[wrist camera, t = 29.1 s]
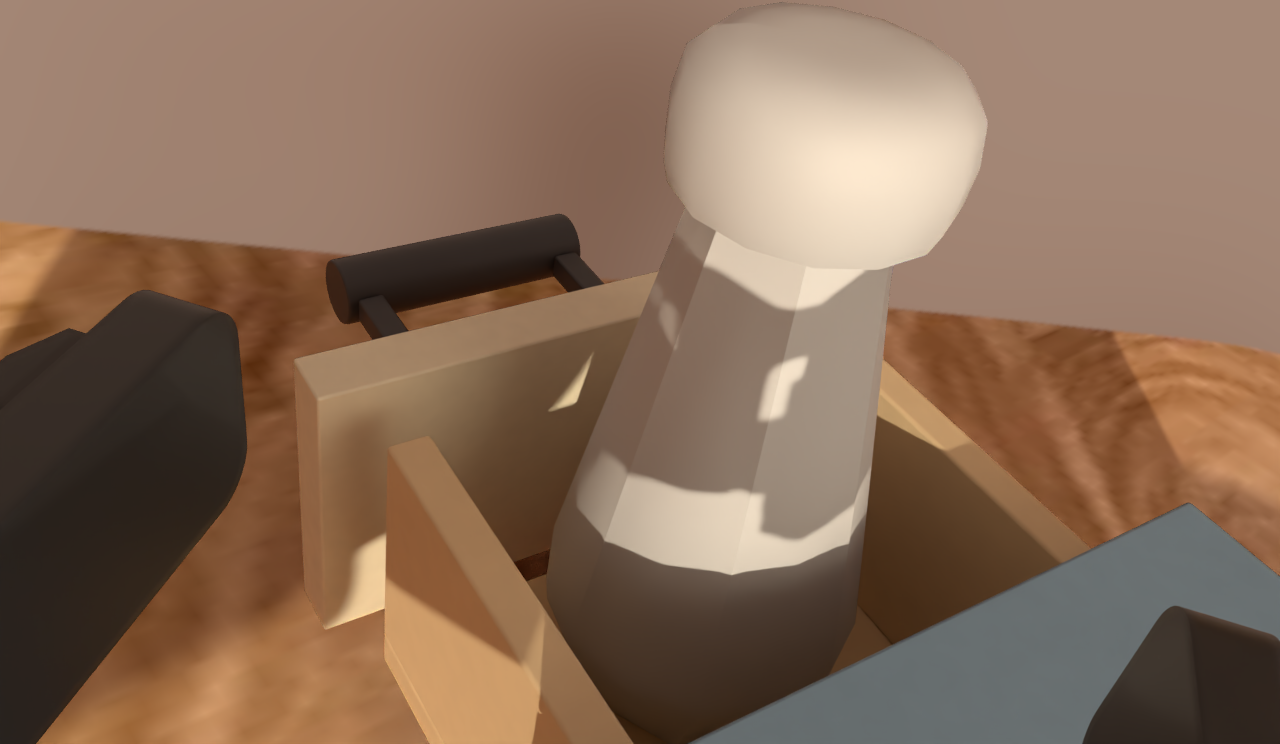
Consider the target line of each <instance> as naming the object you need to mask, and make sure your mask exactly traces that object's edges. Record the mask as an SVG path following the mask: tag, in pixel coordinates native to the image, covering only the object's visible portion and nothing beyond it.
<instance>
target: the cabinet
mask: <svg viewBox="0 0 1280 744" xmlns="http://www.w3.org/2000/svg"><path fill="white" fill-rule="evenodd" d="M1172 606H1180V607H1184V608H1187V609H1190V610H1193V611H1197V612H1200V613H1203V614H1207V615H1210V616H1213V617H1216V618H1220V619H1223V620H1226V621H1230V622H1233V623H1236V624H1240V625H1243V626H1246V627H1249V628H1253V629H1256V630H1259V631H1263V632H1266V633H1269V634H1272V635H1274V636H1275V637H1277V638H1278V639H1279V641H1280V576H1278V575H1277V574H1276V573H1275V572H1274V571H1272V570H1271V569H1270V568H1269V567H1268V566H1266V565H1265V564H1264V563H1263V562H1262V561H1260V560H1259V559H1258V558H1257V557H1255V556H1254V555H1253V554H1252V553H1251V552H1249V551H1248V550H1247V549H1246V548H1245V547H1243V546H1242V545H1241V544H1240V543H1239V542H1237V541H1236V540H1235V539H1234V538H1233V537H1231V536H1230V535H1229V534H1228V533H1226V532H1225V531H1224V530H1223V529H1222V528H1220V527H1219V526H1218V525H1217V524H1216V523H1214V522H1213V521H1212V520H1211V519H1210V518H1208V517H1207V516H1206V515H1205V514H1203V513H1202V512H1201V511H1200V510H1199V509H1197V508H1196V507H1195V506H1194V505H1193V504H1191V503H1186V504H1183V505H1181V506H1179V507H1177V508H1175V509H1173V510H1171V511H1169V512H1167V513H1165V514H1163V515H1161V516H1159V517H1156V518H1154V519H1152V520H1150V521H1148V522H1146V523H1144V524H1142V525H1140V526H1138V527H1136V528H1134V529H1132V530H1130V531H1127V532H1125V533H1123V534H1121V535H1119V536H1117V537H1115V538H1113V539H1111V540H1109V541H1107V542H1105V543H1103V544H1100V545H1098V546H1096V547H1094V548H1092V549H1090V550H1088V551H1086V552H1084V553H1082V554H1080V555H1078V556H1076V557H1074V558H1071V559H1069V560H1067V561H1065V562H1063V563H1061V564H1059V565H1057V566H1055V567H1053V568H1051V569H1049V570H1047V571H1044V572H1042V573H1040V574H1038V575H1036V576H1034V577H1032V578H1030V579H1028V580H1026V581H1024V582H1022V583H1020V584H1017V585H1015V586H1013V587H1011V588H1009V589H1007V590H1005V591H1003V592H1001V593H999V594H997V595H995V596H993V597H991V598H988V599H986V600H984V601H982V602H980V603H978V604H976V605H974V606H972V607H970V608H968V609H966V610H964V611H961V612H959V613H957V614H955V615H953V616H951V617H949V618H947V619H945V620H943V621H941V622H939V623H937V624H935V625H932V626H930V627H928V628H926V629H924V630H922V631H920V632H918V633H916V634H914V635H912V636H910V637H908V638H905V639H903V640H901V641H899V642H897V643H895V644H893V645H891V646H889V647H887V648H885V649H883V650H881V651H879V652H876V653H874V654H872V655H870V656H868V657H866V658H864V659H862V660H860V661H858V662H856V663H854V664H852V665H849V666H847V667H845V668H843V669H841V670H839V671H837V672H835V673H833V674H831V675H829V676H827V677H825V678H823V679H820V680H818V681H816V682H814V683H812V684H810V685H808V686H806V687H804V688H802V689H800V690H798V691H796V692H793V693H791V694H789V695H787V696H785V697H783V698H781V699H779V700H777V701H775V702H773V703H771V704H769V705H766V706H764V707H762V708H760V709H758V710H756V711H754V712H752V713H750V714H748V715H746V716H744V717H742V718H740V719H737V720H735V721H733V722H731V723H729V724H727V725H725V726H723V727H721V728H719V729H717V730H715V731H713V732H710V733H708V734H706V735H704V736H702V737H700V738H698V739H696V740H694V741H692V742H690V743H688V744H1082V743H1083V740H1084V737H1085V734H1086V731H1087V729H1088V726H1089V724H1090V722H1091V720H1092V718H1093V716H1094V714H1095V713H1096V711H1097V709H1098V708H1099V706H1100V705H1101V703H1102V702H1103V700H1104V699H1105V697H1106V696H1107V694H1108V693H1109V691H1110V690H1111V688H1112V687H1113V685H1114V684H1115V682H1116V681H1117V679H1118V678H1119V676H1120V675H1121V673H1122V672H1123V670H1124V669H1125V667H1126V666H1127V664H1128V663H1129V661H1130V660H1131V658H1132V657H1133V655H1134V654H1135V652H1136V651H1137V649H1138V648H1139V646H1140V645H1141V643H1142V642H1143V640H1144V639H1145V637H1146V636H1147V634H1148V633H1149V631H1150V630H1151V628H1152V627H1153V625H1154V624H1155V622H1156V621H1157V620H1158V618H1159V617H1160V616H1161V614H1162V613H1163V612H1164V611H1165V610H1167V609H1168V608H1170V607H1172Z"/></svg>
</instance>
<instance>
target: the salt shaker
mask: <svg viewBox="0 0 1280 744" xmlns="http://www.w3.org/2000/svg"><path fill="white" fill-rule="evenodd" d="M987 125H988V121H987V118H986V116H985V112H984V109H983V107H982V104H981V101H980V98H979V95H978V92H977V90H976V88H975V87H974V85H973V83H972V82H971V80H970V79H969V77H968V75H967V73H966V72H965V70H964V68H963V67H962V66H961V65H960V64H959V63H958V62H956V61H955V60H954V59H952V58H951V57H950V56H949V55H947V54H946V53H945V52H944V51H942V50H941V49H940V48H939V47H937V46H936V45H935V44H934V43H933V42H931V41H929V40H927V39H925V38H923V37H921V36H919V35H917V34H915V33H912V32H910V31H908V30H906V29H904V28H902V27H899V26H897V25H895V24H893V23H891V22H889V21H886V20H884V19H880V18H875V17H872V16H868V15H864V14H859V13H856V12H852V11H848V10H844V9H840V8H836V7H831V6H819V5H807V4H796V3H784V2H779V3H773V4H767V5H760V6H754V7H748V8H741V9H739V10H737V11H736V12H734V13H732V14H731V15H729V16H728V17H726V18H724V19H723V20H721V21H720V22H718V23H717V24H715V25H714V26H712V27H711V28H709V29H707V30H706V31H704V32H703V33H701V34H700V35H698V36H697V37H695V38H694V39H692V40H691V41H689V42H688V43H687V44H686V47H685V49H684V52H683V55H682V57H681V60H680V63H679V66H678V68H677V71H676V73H675V76H674V78H673V81H672V84H671V90H670V98H669V105H668V113H667V121H666V130H665V145H664V166H665V172H666V178H667V182H668V184H669V185H670V187H671V188H672V189H673V191H674V192H675V193H676V195H677V196H678V198H679V199H680V200H681V202H682V203H683V204H684V206H685V208H684V211H683V214H682V216H681V218H680V221H679V223H678V226H677V228H676V230H675V233H674V235H673V238H672V240H671V243H670V245H669V247H668V250H667V253H666V255H665V257H664V260H663V262H662V265H661V267H660V270H659V272H658V274H657V277H656V279H655V282H654V284H653V286H652V289H651V291H650V294H649V296H648V299H647V301H646V303H645V306H644V308H643V311H642V313H641V316H640V318H639V321H638V323H637V325H636V328H635V330H634V333H633V335H632V338H631V340H630V342H629V345H628V347H627V350H626V352H625V355H624V357H623V360H622V362H621V364H620V367H619V369H618V372H617V374H616V377H615V379H614V381H613V384H612V386H611V389H610V391H609V394H608V396H607V398H606V401H605V403H604V406H603V408H602V411H601V413H600V416H599V418H598V420H597V423H596V425H595V428H594V430H593V433H592V435H591V437H590V440H589V442H588V445H587V447H586V450H585V452H584V455H583V457H582V459H581V462H580V464H579V467H578V469H577V472H576V474H575V476H574V479H573V481H572V484H571V486H570V489H569V491H568V493H567V496H566V498H565V501H564V503H563V506H562V508H561V511H560V513H559V515H558V518H557V520H556V523H555V525H554V531H553V537H552V544H551V550H550V557H549V564H548V570H547V577H546V585H547V599H548V602H549V604H550V606H551V609H552V611H553V613H554V616H555V618H556V620H557V623H558V625H559V628H560V630H561V632H562V635H563V637H564V639H565V641H566V643H567V644H568V646H569V647H570V649H571V650H572V652H573V653H574V655H575V656H576V658H577V659H578V661H579V662H580V664H581V665H582V667H583V668H584V670H585V671H586V673H587V674H588V676H589V677H590V679H591V680H592V682H593V683H594V685H595V686H596V688H597V689H598V691H599V692H600V694H601V695H602V697H603V698H604V700H605V701H606V703H607V704H608V706H609V707H610V709H611V710H612V712H614V713H616V714H617V715H619V716H621V717H623V718H624V719H626V720H628V721H630V722H631V723H633V724H635V725H636V726H638V727H640V728H642V729H643V730H645V731H647V732H649V733H650V734H652V735H654V736H656V737H657V738H659V739H661V740H663V741H664V742H666V743H668V744H688V743H690V742H692V741H694V740H696V739H698V738H700V737H702V736H704V735H706V734H708V733H710V732H713V731H715V730H717V729H719V728H721V727H723V726H725V725H727V724H729V723H731V722H733V721H735V720H737V719H740V718H742V717H744V716H746V715H748V714H750V713H752V712H754V711H756V710H758V709H760V708H762V707H764V706H766V705H769V704H771V703H773V702H775V701H777V700H779V699H781V698H783V697H785V696H787V695H789V694H791V693H793V692H796V691H798V690H800V689H802V688H804V687H806V686H808V685H810V684H812V683H814V682H816V681H818V680H820V679H823V678H825V677H827V676H828V675H829V673H830V672H831V670H832V668H833V666H834V664H835V662H836V660H837V658H838V656H839V654H840V652H841V650H842V648H843V646H844V644H845V642H846V640H847V638H848V637H849V635H850V633H851V631H852V629H853V627H854V625H855V619H856V610H857V600H858V591H859V581H860V572H861V562H862V553H863V543H864V533H865V524H866V514H867V505H868V495H869V486H870V476H871V467H872V457H873V447H874V438H875V428H876V419H877V409H878V400H879V390H880V381H881V371H882V361H883V352H884V342H885V333H886V323H887V314H888V304H889V294H890V285H891V278H892V271H893V265H896V264H899V263H902V262H906V261H909V260H912V259H915V258H918V257H921V256H924V255H927V254H928V253H929V252H930V251H931V249H932V248H933V247H934V246H935V245H936V244H937V243H938V242H939V241H940V239H941V238H942V237H943V235H944V234H945V233H946V231H947V230H948V228H949V226H950V225H951V224H952V222H953V221H954V219H955V218H956V216H957V215H958V213H959V212H960V210H961V209H962V207H963V205H964V202H965V200H966V198H967V196H968V194H969V192H970V189H971V187H972V185H973V183H974V181H975V178H976V176H977V174H978V172H979V170H980V166H981V160H982V154H983V149H984V143H985V137H986V131H987Z"/></svg>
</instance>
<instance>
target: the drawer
mask: <svg viewBox="0 0 1280 744" xmlns="http://www.w3.org/2000/svg"><path fill="white" fill-rule="evenodd" d="M658 272H659V271H656V272H652V273H648V274H644V275H640V276H636V277H631V278H627V279H623V280H619V281H615V282H611V283H607V284H604V283H603V282H602V281H601V280H600V279H599V278H598V277H597V275H596V274H595V273H594V272H593V271H592V270H591V269H590V268H589V267H588V266H587V265H586V264H585V262H584V261H583V260H582V259H581V258H580V245H579V239H578V235H577V232H576V230H575V228H574V226H573V224H572V223H571V221H570V220H569V218H568V217H566V216H565V215H562V214H555V215H550V216H545V217H540V218H536V219H530V220H526V221H521V222H516V223H510V224H506V225H501V226H496V227H491V228H486V229H481V230H476V231H471V232H466V233H461V234H456V235H452V236H446V237H441V238H436V239H432V240H427V241H422V242H417V243H412V244H407V245H403V246H397V247H392V248H387V249H382V250H377V251H372V252H368V253H362V254H358V255H353V256H348V257H343V258H338V259H333V260H330V261H329V262H328V264H327V267H326V284H327V290H328V294H329V298H330V301H331V304H332V307H333V309H334V312H335V313H336V315H337V317H338V318H339V320H340V321H341V322H342V323H344V324H351V323H355V322H359V321H360V322H361V323H362V325H363V326H364V328H365V329H366V331H367V332H368V334H369V335H370V337H371V338H372V340H370V341H366V342H362V343H358V344H354V345H349V346H345V347H341V348H337V349H333V350H329V351H325V352H320V353H316V354H312V355H308V356H304V357H300V358H296V359H294V383H295V403H296V424H297V445H298V465H299V486H300V507H301V527H302V548H303V569H304V589H305V592H306V594H307V596H308V598H309V600H310V602H311V604H312V606H313V608H314V610H315V612H316V614H317V616H318V618H319V620H320V622H321V624H322V626H323V628H324V629H329V628H332V627H335V626H338V625H341V624H343V623H346V622H349V621H352V620H354V619H357V618H360V617H363V616H366V615H368V614H371V613H374V612H377V611H379V610H382V609H385V625H384V633H385V636H384V659H385V661H386V663H387V665H388V667H389V669H390V670H391V672H392V674H393V676H394V678H395V680H396V682H397V684H398V685H399V687H400V689H401V691H402V693H403V695H404V697H405V699H406V701H407V702H408V704H409V706H410V708H411V710H412V712H413V714H414V716H415V718H416V719H417V721H418V723H419V725H420V727H421V729H422V731H423V733H424V735H425V736H426V738H427V740H428V742H429V744H668V743H666V742H664V741H663V740H661V739H659V738H657V737H656V736H654V735H652V734H650V733H649V732H647V731H645V730H643V729H642V728H640V727H638V726H636V725H635V724H633V723H631V722H630V721H628V720H626V719H624V718H623V717H621V716H619V715H617V714H616V713H614V712H612V710H611V709H610V707H609V706H608V704H607V703H606V701H605V700H604V698H603V697H602V695H601V694H600V692H599V691H598V689H597V688H596V686H595V685H594V683H593V682H592V680H591V679H590V677H589V676H588V674H587V673H586V671H585V670H584V668H583V667H582V665H581V664H580V662H579V661H578V659H577V658H576V656H575V655H574V653H573V652H572V650H571V649H570V647H569V646H568V644H567V643H566V641H565V639H564V637H563V635H562V632H561V630H560V628H559V625H558V623H557V620H556V618H555V616H554V613H553V611H552V609H551V606H550V604H549V602H548V599H547V585H546V577H547V574H545V575H542V576H539V577H537V578H534V579H531V580H528V581H525V579H524V578H523V576H522V575H521V573H520V572H519V570H518V569H517V567H516V565H515V564H514V562H516V561H519V560H521V559H524V558H527V557H530V556H532V555H535V554H538V553H541V552H544V551H546V550H549V549H551V544H552V537H553V531H554V525H555V523H556V520H557V518H558V515H559V513H560V511H561V508H562V506H563V503H564V501H565V498H566V496H567V493H568V491H569V489H570V486H571V484H572V481H573V479H574V476H575V474H576V472H577V469H578V467H579V464H580V462H581V459H582V457H583V455H584V452H585V450H586V447H587V445H588V442H589V440H590V437H591V435H592V433H593V430H594V428H595V425H596V423H597V420H598V418H599V416H600V413H601V411H602V408H603V406H604V403H605V401H606V398H607V396H608V394H609V391H610V389H611V386H612V384H613V381H614V379H615V377H616V374H617V372H618V369H619V367H620V364H621V362H622V360H623V357H624V355H625V352H626V350H627V347H628V345H629V342H630V340H631V338H632V335H633V333H634V330H635V328H636V325H637V323H638V321H639V318H640V316H641V313H642V311H643V308H644V306H645V303H646V301H647V299H648V296H649V294H650V291H651V289H652V286H653V284H654V282H655V279H656V277H657V274H658ZM549 277H555V278H556V279H557V280H558V281H559V283H560V284H561V285H562V286H563V287H564V288H565V290H566V291H567V292H568V293H565V294H561V295H557V296H553V297H549V298H544V299H540V300H536V301H532V302H528V303H524V304H519V305H515V306H511V307H507V308H503V309H499V310H495V311H490V312H486V313H482V314H478V315H474V316H470V317H466V318H461V319H457V320H453V321H449V322H445V323H441V324H437V325H432V326H428V327H424V328H420V329H416V330H412V331H408V330H407V329H406V327H405V326H404V324H403V323H402V321H401V320H400V319H399V317H398V316H397V314H396V313H398V312H403V311H407V310H411V309H415V308H420V307H424V306H428V305H433V304H437V303H441V302H446V301H450V300H454V299H459V298H463V297H467V296H472V295H476V294H480V293H485V292H489V291H493V290H497V289H502V288H506V287H510V286H515V285H519V284H523V283H528V282H532V281H536V280H541V279H545V278H549ZM1090 549H1091V548H1090V547H1089V546H1088V545H1087V544H1086V543H1085V542H1084V541H1082V540H1081V539H1080V538H1079V537H1078V536H1077V535H1076V534H1075V533H1074V532H1073V531H1071V530H1070V529H1069V528H1068V527H1067V526H1066V525H1065V524H1064V523H1063V522H1062V521H1061V520H1059V519H1058V518H1057V517H1056V516H1055V515H1054V514H1053V513H1052V512H1051V511H1050V510H1048V509H1047V508H1046V507H1045V506H1044V505H1043V504H1042V503H1041V502H1040V501H1039V500H1038V499H1036V498H1035V497H1034V496H1033V495H1032V494H1031V493H1030V492H1029V491H1028V490H1027V489H1025V488H1024V487H1023V486H1022V485H1021V484H1020V483H1019V482H1018V481H1017V480H1016V479H1014V478H1013V477H1012V476H1011V475H1010V474H1009V473H1008V472H1007V471H1006V470H1005V469H1004V468H1002V467H1001V466H1000V465H999V464H998V463H997V462H996V461H995V460H994V459H993V458H991V457H990V456H989V455H988V454H987V453H986V452H985V451H984V450H983V449H982V448H981V447H979V446H978V445H977V444H976V443H975V442H974V441H973V440H972V439H971V438H970V437H968V436H967V435H966V434H965V433H964V432H963V431H962V430H961V429H960V428H959V427H958V426H956V425H955V424H954V423H953V422H952V421H951V420H950V419H949V418H948V417H947V416H945V415H944V414H943V413H942V412H941V411H940V410H939V409H938V408H937V407H936V406H934V405H933V404H932V403H931V402H930V401H929V400H928V399H927V398H926V397H925V396H924V395H922V394H921V393H920V392H919V391H918V390H917V389H916V388H915V387H914V386H913V385H911V384H910V383H909V382H908V381H907V380H906V379H905V378H904V377H903V376H902V375H901V374H899V373H898V372H897V371H896V370H895V369H894V368H893V367H892V366H891V365H890V364H888V363H887V362H886V361H885V360H884V359H883V361H882V371H881V381H880V390H879V400H878V409H877V419H876V428H875V438H874V447H873V457H872V467H871V476H870V486H869V495H868V505H867V514H866V524H865V533H864V543H863V553H862V562H861V572H860V581H859V591H858V600H857V610H856V619H855V625H854V627H853V629H852V631H851V633H850V635H849V637H848V638H847V640H846V642H845V644H844V646H843V648H842V650H841V652H840V654H839V656H838V658H837V660H836V662H835V664H834V666H833V668H832V670H831V672H830V673H829V675H831V674H833V673H835V672H837V671H839V670H841V669H843V668H845V667H847V666H849V665H852V664H854V663H856V662H858V661H860V660H862V659H864V658H866V657H868V656H870V655H872V654H874V653H876V652H879V651H881V650H883V649H885V648H887V647H889V646H891V645H893V644H895V643H897V642H899V641H901V640H903V639H905V638H908V637H910V636H912V635H914V634H916V633H918V632H920V631H922V630H924V629H926V628H928V627H930V626H932V625H935V624H937V623H939V622H941V621H943V620H945V619H947V618H949V617H951V616H953V615H955V614H957V613H959V612H961V611H964V610H966V609H968V608H970V607H972V606H974V605H976V604H978V603H980V602H982V601H984V600H986V599H988V598H991V597H993V596H995V595H997V594H999V593H1001V592H1003V591H1005V590H1007V589H1009V588H1011V587H1013V586H1015V585H1017V584H1020V583H1022V582H1024V581H1026V580H1028V579H1030V578H1032V577H1034V576H1036V575H1038V574H1040V573H1042V572H1044V571H1047V570H1049V569H1051V568H1053V567H1055V566H1057V565H1059V564H1061V563H1063V562H1065V561H1067V560H1069V559H1071V558H1074V557H1076V556H1078V555H1080V554H1082V553H1084V552H1086V551H1088V550H1090ZM829 675H828V676H829Z"/></svg>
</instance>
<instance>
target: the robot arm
mask: <svg viewBox="0 0 1280 744" xmlns="http://www.w3.org/2000/svg"><path fill="white" fill-rule="evenodd" d="M246 452H247V434H246V422H245V410H244V399H243V387H242V375H241V363H240V351H239V339H238V332H237V327H236V324H235V322H234V320H233V319H232V318H231V317H230V316H229V315H228V314H226V313H223V312H220V311H216V310H213V309H210V308H207V307H203V306H200V305H197V304H193V303H190V302H187V301H183V300H180V299H177V298H174V297H170V296H167V295H164V294H160V293H157V292H154V291H151V290H141V291H137V292H135V293H133V294H131V295H130V296H129V297H127V298H126V299H125V300H124V301H122V302H121V303H120V304H119V305H118V306H117V307H116V308H115V309H113V310H112V311H111V312H110V313H109V314H108V315H107V316H106V317H104V318H103V319H102V320H101V321H100V322H99V323H98V324H97V325H95V326H94V327H93V328H92V329H91V330H90V331H89V332H87V333H83V332H80V331H76V330H73V329H70V328H68V329H66V330H64V331H62V332H59V333H57V334H55V335H53V336H50V337H48V338H46V339H44V340H41V341H39V342H37V343H35V344H32V345H30V346H28V347H25V348H23V349H21V350H19V351H16V352H14V353H12V354H10V355H7V356H6V357H5V358H3V359H2V360H1V361H0V744H36V743H37V742H38V741H39V739H40V738H41V737H42V736H43V734H44V733H45V732H46V731H47V729H48V728H49V727H50V726H51V724H52V723H53V722H54V721H55V719H56V718H57V717H58V716H59V714H60V713H61V712H62V711H63V709H64V708H65V707H66V706H67V704H68V703H69V702H70V701H71V699H72V698H73V697H74V696H75V694H76V693H77V692H78V691H79V689H80V688H81V687H82V686H83V684H84V683H85V682H86V681H87V680H88V678H89V677H90V676H91V675H92V673H93V672H94V671H95V670H96V668H97V667H98V666H99V665H100V663H101V662H102V661H103V660H104V658H105V657H106V656H107V655H108V653H109V652H110V651H111V650H112V648H113V647H114V646H115V645H116V643H117V642H118V641H119V640H120V638H121V637H122V636H123V635H124V633H125V632H126V631H127V630H128V628H129V627H130V626H131V625H132V623H133V622H134V621H135V620H136V618H137V617H138V616H139V615H140V614H141V612H142V611H143V610H144V609H145V607H146V606H147V605H148V604H149V602H150V601H151V600H152V599H153V597H154V596H155V595H156V594H157V592H158V591H159V590H160V589H161V587H162V586H163V585H164V584H165V582H166V581H167V580H168V579H169V577H170V576H171V575H172V574H173V572H174V571H175V570H176V569H177V567H178V566H179V565H180V564H181V562H182V561H183V560H184V559H185V557H186V556H187V555H188V554H189V552H190V551H191V550H192V549H193V548H194V546H195V545H196V544H197V543H198V541H199V540H200V539H201V538H202V536H203V535H204V534H205V533H206V531H207V530H208V529H209V528H210V526H211V525H212V524H213V523H214V521H215V520H216V519H217V518H218V516H219V515H220V514H221V513H222V511H223V510H224V509H225V507H226V506H227V504H228V503H229V501H230V499H231V498H232V496H233V494H234V492H235V490H236V487H237V485H238V483H239V480H240V477H241V474H242V471H243V467H244V464H245V459H246ZM1082 744H1280V641H1279V639H1278V638H1277V637H1275V636H1274V635H1272V634H1269V633H1266V632H1263V631H1259V630H1256V629H1253V628H1249V627H1246V626H1243V625H1240V624H1236V623H1233V622H1230V621H1226V620H1223V619H1220V618H1216V617H1213V616H1210V615H1207V614H1203V613H1200V612H1197V611H1193V610H1190V609H1187V608H1184V607H1180V606H1172V607H1170V608H1168V609H1167V610H1165V611H1164V612H1163V613H1162V614H1161V616H1160V617H1159V618H1158V620H1157V621H1156V622H1155V624H1154V625H1153V627H1152V628H1151V630H1150V631H1149V633H1148V634H1147V636H1146V637H1145V639H1144V640H1143V642H1142V643H1141V645H1140V646H1139V648H1138V649H1137V651H1136V652H1135V654H1134V655H1133V657H1132V658H1131V660H1130V661H1129V663H1128V664H1127V666H1126V667H1125V669H1124V670H1123V672H1122V673H1121V675H1120V676H1119V678H1118V679H1117V681H1116V682H1115V684H1114V685H1113V687H1112V688H1111V690H1110V691H1109V693H1108V694H1107V696H1106V697H1105V699H1104V700H1103V702H1102V703H1101V705H1100V706H1099V708H1098V709H1097V711H1096V713H1095V714H1094V716H1093V718H1092V720H1091V722H1090V724H1089V726H1088V729H1087V731H1086V734H1085V737H1084V740H1083V743H1082Z"/></svg>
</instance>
